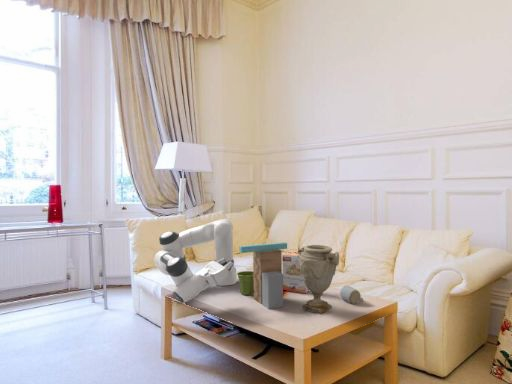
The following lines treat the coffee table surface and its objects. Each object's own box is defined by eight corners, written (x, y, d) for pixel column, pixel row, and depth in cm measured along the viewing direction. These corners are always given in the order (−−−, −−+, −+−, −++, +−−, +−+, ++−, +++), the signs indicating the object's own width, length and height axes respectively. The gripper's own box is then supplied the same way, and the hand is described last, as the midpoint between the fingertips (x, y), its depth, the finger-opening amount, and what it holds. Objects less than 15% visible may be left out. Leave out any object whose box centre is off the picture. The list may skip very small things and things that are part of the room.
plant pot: (262, 293, 203) (262, 272, 203) (247, 298, 195) (247, 277, 194) (247, 289, 211) (247, 269, 211) (232, 293, 203) (232, 273, 202)
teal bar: (239, 252, 186) (239, 246, 186) (284, 247, 197) (284, 242, 197) (241, 253, 183) (241, 247, 183) (287, 248, 194) (287, 243, 194)
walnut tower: (253, 299, 193) (253, 249, 192) (274, 295, 198) (273, 247, 197) (261, 303, 185) (260, 252, 184) (282, 300, 190) (281, 250, 189)
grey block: (262, 304, 183) (261, 272, 183) (276, 302, 187) (276, 271, 186) (268, 308, 177) (268, 275, 177) (283, 306, 180) (282, 274, 180)
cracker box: (282, 291, 207) (281, 254, 207) (286, 288, 212) (286, 252, 212) (305, 294, 200) (305, 255, 200) (309, 291, 206) (309, 254, 205)
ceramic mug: (349, 305, 180) (350, 290, 180) (339, 300, 188) (339, 286, 188) (366, 303, 185) (367, 287, 185) (356, 298, 192) (356, 283, 192)
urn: (350, 310, 173) (350, 247, 173) (327, 320, 161) (326, 252, 160) (310, 299, 191) (309, 242, 190) (286, 307, 178) (285, 246, 178)
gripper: (202, 278, 187) (224, 262, 192) (215, 287, 168) (239, 270, 173) (196, 267, 186) (218, 252, 190) (208, 276, 167) (232, 259, 172)
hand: (228, 260), depth 182 cm, fingers open, 8 cm apart
